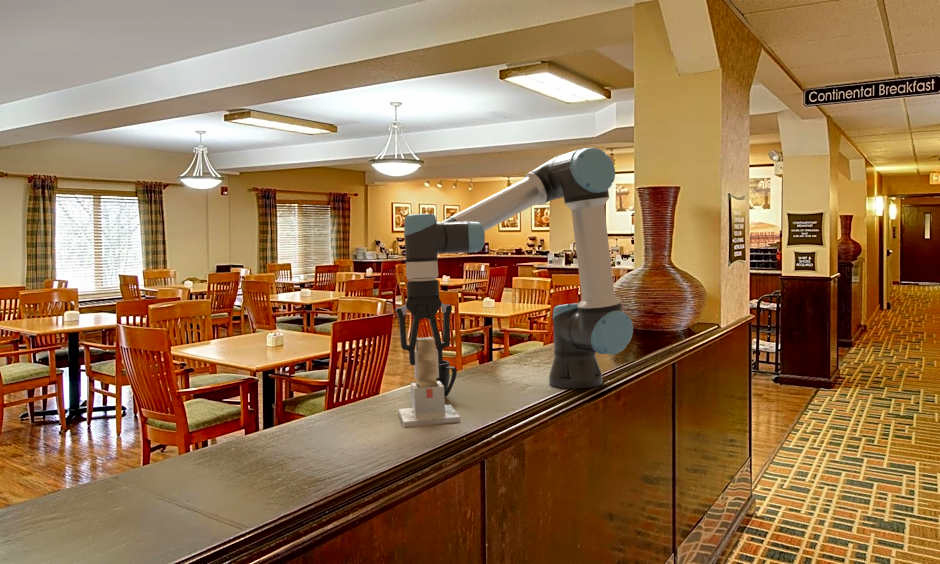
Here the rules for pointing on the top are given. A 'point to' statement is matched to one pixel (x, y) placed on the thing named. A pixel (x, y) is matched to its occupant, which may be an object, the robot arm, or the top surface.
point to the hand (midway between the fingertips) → (426, 377)
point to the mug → (446, 376)
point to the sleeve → (428, 407)
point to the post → (426, 361)
